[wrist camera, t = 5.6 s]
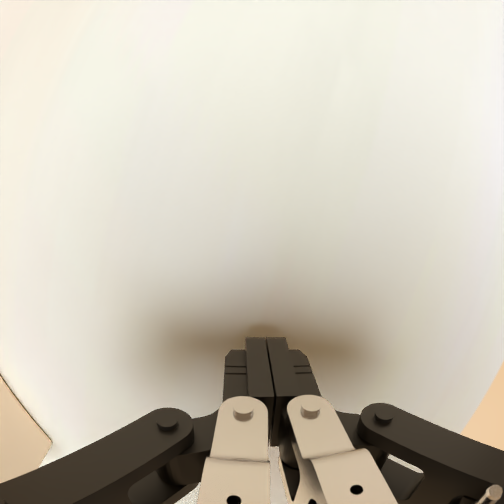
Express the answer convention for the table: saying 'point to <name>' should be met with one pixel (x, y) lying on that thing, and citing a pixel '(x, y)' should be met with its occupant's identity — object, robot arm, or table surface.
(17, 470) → the medicine bottle
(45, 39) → the table surface
